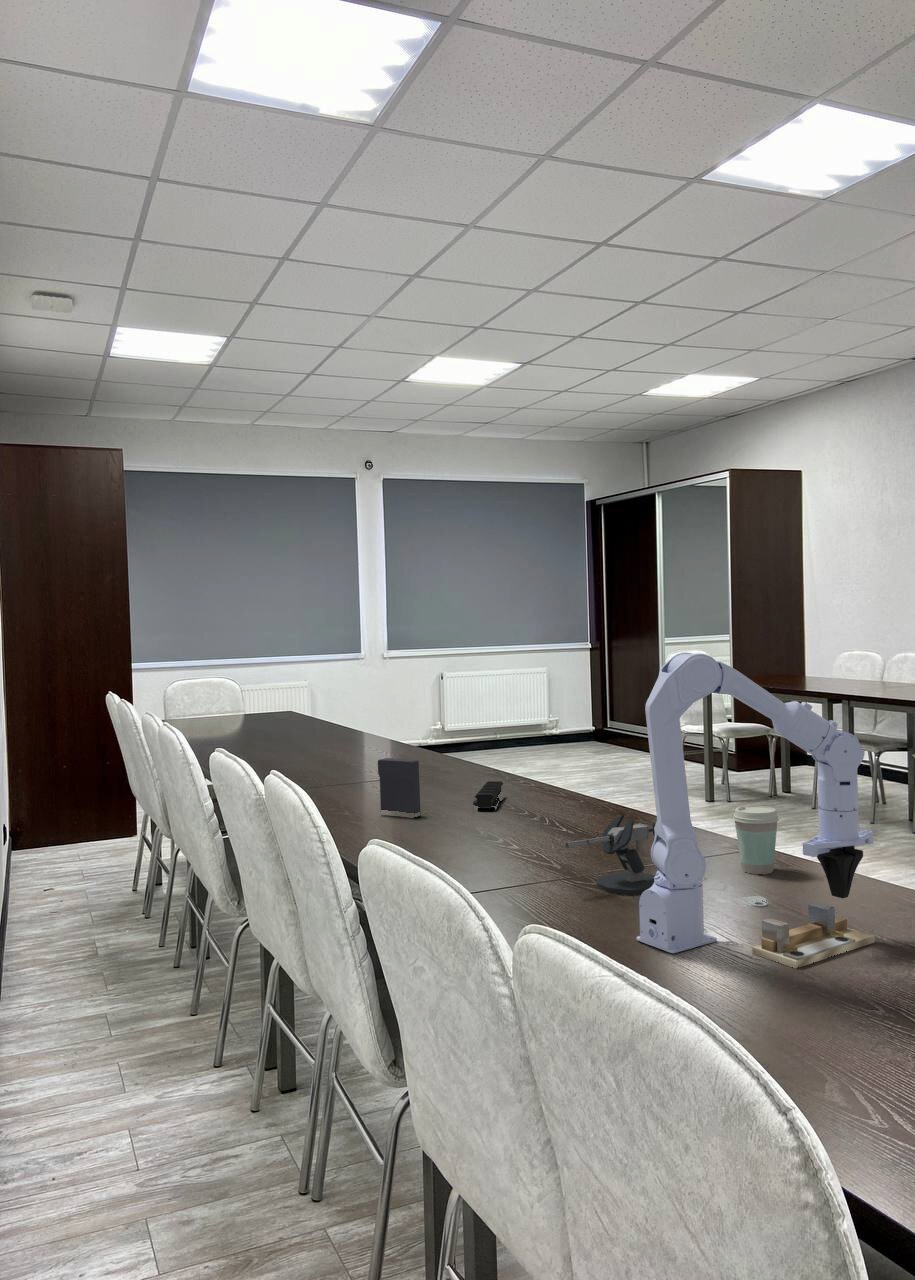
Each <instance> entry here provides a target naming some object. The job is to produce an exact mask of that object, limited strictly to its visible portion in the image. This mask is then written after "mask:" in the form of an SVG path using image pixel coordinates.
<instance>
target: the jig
mask: <svg viewBox="0 0 915 1280" xmlns="http://www.w3.org/2000/svg"><path fill="white" fill-rule="evenodd" d="M835 931H839V932H842V933H844V936H843V937H840V936H836V935H833V934H830V935H825V934H824V927H823V924H819V923H816V922H812V923H811V922H810V923H808V924H805V925H802V926H801V925H800V926H798V927H793V928H791V929H790V924H789V923H788V922H784V921H780V920H777V919H775V918H771V917H769V918H766V919H762V920H761V935H762V936H761V938H760V941H761V943H760V944H756V945H754V946H752V947H751V950H752V951H751V952H752V955H754V956H758V957H760V956H761V958H763V957H764V959H767V960H769V961H772V960H773V961H772V962H775V961H776V963H778V962H779V963H778V964H782V965H785V966H787V967H790V968H792V967H793V969H799V968H802V967H805V966H808V965H810V964H814V963H817V962H820V961H824V960H826V959H829V958H831V956H832V957H835V956H838V955H841V954H844V953H847V952H849V951H853V950H855V949H859V948H862V947H865V946H867V945H871V944H874V943H876V939H875V937H876V936H875V935H874V934H870V933H867V932H864V931H859V930H856V929H852V928H849V927H848V919H847V918H844V917H840V916H838V915H835ZM846 951H847V952H846ZM840 953H841V954H840ZM837 954H838V955H837ZM834 955H835V956H834ZM828 957H829V958H828ZM813 962H814V963H813ZM798 967H799V968H798Z"/></svg>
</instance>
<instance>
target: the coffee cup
mask: <svg viewBox="0 0 915 1280" xmlns="http://www.w3.org/2000/svg"><path fill="white" fill-rule="evenodd" d="M732 817H733V818H732V820H734V824H735V825H734V826H735V833H736V839H737V846H738V847H737V848H738V854H739V861H740V866H741V871H742V872H743V871H744V872H743V873H745V872H747V873H746V874H749V873H752V874H751V875H757V874H763V875H768V874H769V873H770V874H772V873H773V872H774V865H775V863H774V862H775V855H776V843H777V842H776V840H777V830H778V829H777V828H778V822H779V821H780V819H779V815H778V813H777V810H776V809H775V808H774V807H772V806H771V807H770V806H766V805H764V806H763V805H744V806H738V807H736V808H735V810H734V814H733V816H732ZM770 874H769V875H770Z"/></svg>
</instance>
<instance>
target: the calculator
mask: <svg viewBox="0 0 915 1280" xmlns="http://www.w3.org/2000/svg"><path fill="white" fill-rule="evenodd" d="M419 762H420V761H419V760H418V759H413V758H412V759H409V758H408V759H407V758H393V757H392V758H389V757H385V758H381V759H378V760H377V773H378V776H379V793H380V794H379V798H380V811H381V810H388V811H399V812H406V813H414V814H415V813H418V812H420V813H421V794H420V793H421V789H420V763H419Z"/></svg>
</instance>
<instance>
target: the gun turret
mask: <svg viewBox="0 0 915 1280" xmlns="http://www.w3.org/2000/svg"><path fill="white" fill-rule="evenodd" d="M624 817H625V815H624V814H621V815H618V816H616V818H614V819H613V820H612V822H610V823H609V825H608V826H607V827H606V828H604V830H603V833H602V836H601V837H595V838H587V839H581V840H574V841H567V842H564V848H566V849H569V848H573V847H574V848H575V847H580V846H586V845H587V846H588V845H589V846H590V845H594V844H595V845H596V844H600V843H602V848H603V852H605V854H607V855H613V854H616V856H617V858H618V859H619V862H620V864H621V866H622V868H623V870H626V871H625V872H624V871H622V872H610V873H607V874H604V875H603V874H602V875H601V876H598V877H597V879H596V889H598V888H600V889H602V890H601V891H603V890H605V891H607V892H606V893H608V892H609V893H608V894H613V893H619V894H618V895H622V894H625V895H624V896H635V895H634V894H642V893H643V892H644V891H645V890H647V889H649V888H651V887H652V885H653V884H654V877H655V875H653V874H651V873H645V872H643V871H644V869H645V865H644V863H643V861H642V859H641V857H640V854H639V853H638V851H639V852H642V851H643V849H644V848H643V840H650V833H651V832H652V835H653V836H654V837H655V831H654V827H655V824H656V822H653V823H652V828H650V826H649V825H648V824H643V823H640V822H639V823H636V824H634V823H635V821H634V819H633V817H631V816H630V817H629V818H628V819H627V821H626V823H625V825H624V826H623V825H622V826H620V825H621V823H622V821H623V819H624ZM633 841H635V848H631V849H630V843H631V842H633ZM600 889H599V890H600ZM605 891H604V892H605Z"/></svg>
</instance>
